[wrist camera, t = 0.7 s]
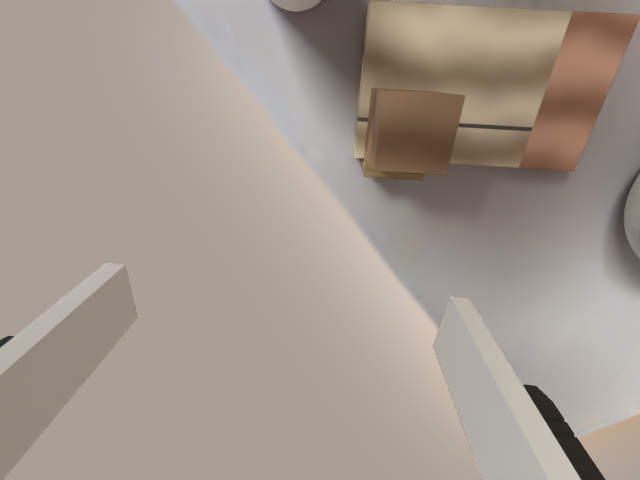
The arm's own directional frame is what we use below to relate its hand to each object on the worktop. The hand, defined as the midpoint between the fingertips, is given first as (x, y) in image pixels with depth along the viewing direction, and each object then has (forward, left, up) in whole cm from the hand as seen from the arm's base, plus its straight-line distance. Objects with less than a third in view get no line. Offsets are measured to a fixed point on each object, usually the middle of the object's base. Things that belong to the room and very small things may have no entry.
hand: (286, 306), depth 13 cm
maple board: (-8, +16, -27) cm, 33 cm away
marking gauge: (-4, +8, -26) cm, 28 cm away
